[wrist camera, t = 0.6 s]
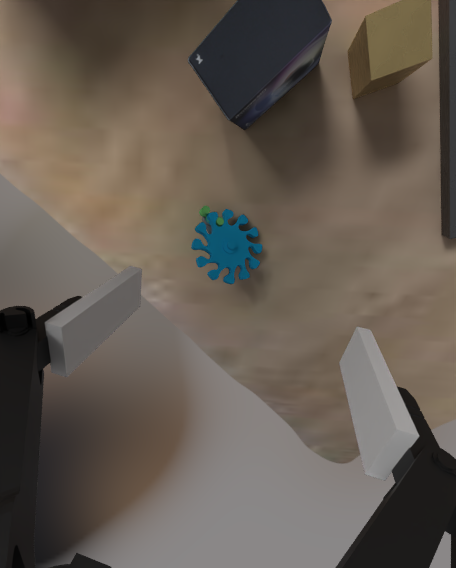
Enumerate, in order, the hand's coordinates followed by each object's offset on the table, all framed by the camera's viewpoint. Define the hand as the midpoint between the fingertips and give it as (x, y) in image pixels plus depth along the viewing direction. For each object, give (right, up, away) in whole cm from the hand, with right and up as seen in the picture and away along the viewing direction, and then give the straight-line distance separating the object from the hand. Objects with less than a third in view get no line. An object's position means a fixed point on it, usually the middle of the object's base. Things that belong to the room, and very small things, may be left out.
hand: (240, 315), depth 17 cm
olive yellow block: (+15, +25, +13) cm, 32 cm away
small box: (+4, +26, +15) cm, 30 cm away
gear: (0, +9, +24) cm, 25 cm away
